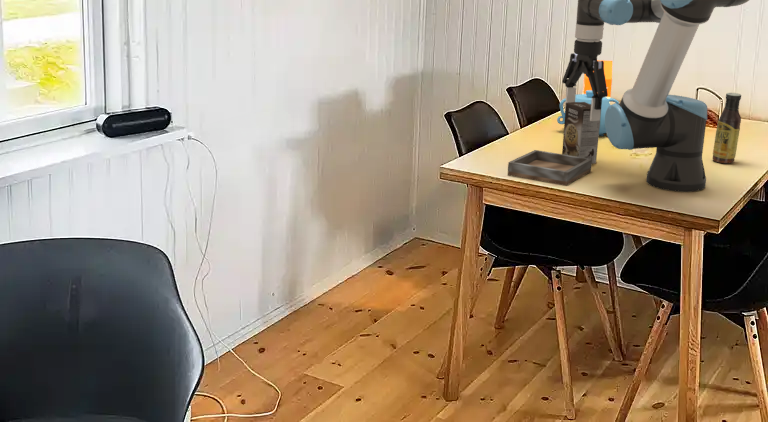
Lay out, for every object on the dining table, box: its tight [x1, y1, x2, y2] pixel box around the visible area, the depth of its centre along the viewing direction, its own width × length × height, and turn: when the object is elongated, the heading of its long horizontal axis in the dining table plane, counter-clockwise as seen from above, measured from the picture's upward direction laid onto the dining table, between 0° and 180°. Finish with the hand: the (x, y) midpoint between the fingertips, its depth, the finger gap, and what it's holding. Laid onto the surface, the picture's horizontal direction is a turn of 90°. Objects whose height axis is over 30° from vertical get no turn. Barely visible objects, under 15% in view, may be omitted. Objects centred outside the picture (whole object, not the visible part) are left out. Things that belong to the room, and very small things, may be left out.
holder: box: [507, 149, 592, 186], centre depth 271 cm, size 17×17×4 cm
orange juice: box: [582, 59, 613, 104], centre depth 336 cm, size 8×9×20 cm
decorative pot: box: [556, 90, 620, 137], centre depth 317 cm, size 16×16×14 cm
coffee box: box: [561, 102, 601, 164], centre depth 283 cm, size 9×6×16 cm
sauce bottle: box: [712, 92, 742, 165], centre depth 284 cm, size 7×6×20 cm
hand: (581, 115), depth 282 cm, fingers open, 13 cm apart
